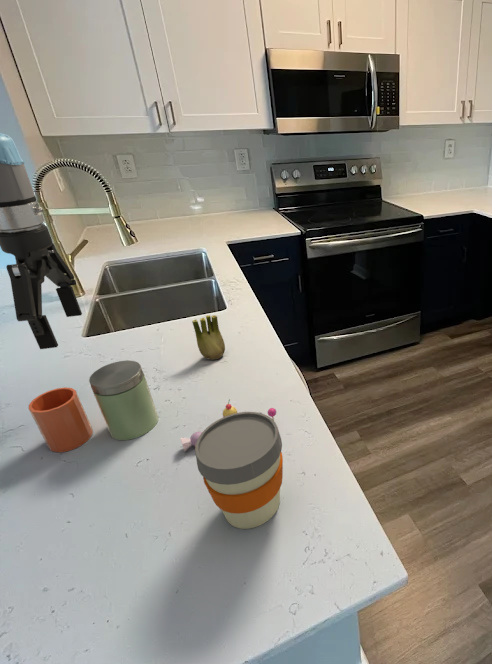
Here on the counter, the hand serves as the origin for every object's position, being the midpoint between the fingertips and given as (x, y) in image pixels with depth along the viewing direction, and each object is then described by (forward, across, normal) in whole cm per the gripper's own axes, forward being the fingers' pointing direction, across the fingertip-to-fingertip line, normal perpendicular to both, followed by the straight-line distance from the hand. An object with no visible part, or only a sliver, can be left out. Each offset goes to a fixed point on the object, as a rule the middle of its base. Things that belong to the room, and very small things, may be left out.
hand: (62, 330), depth 85 cm
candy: (+19, -18, -30) cm, 40 cm away
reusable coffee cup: (+19, -37, -34) cm, 54 cm away
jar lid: (+6, -10, -10) cm, 16 cm away
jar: (+19, -10, -10) cm, 24 cm away
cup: (+19, -11, +1) cm, 22 cm away
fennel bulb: (+19, +13, -25) cm, 34 cm away
